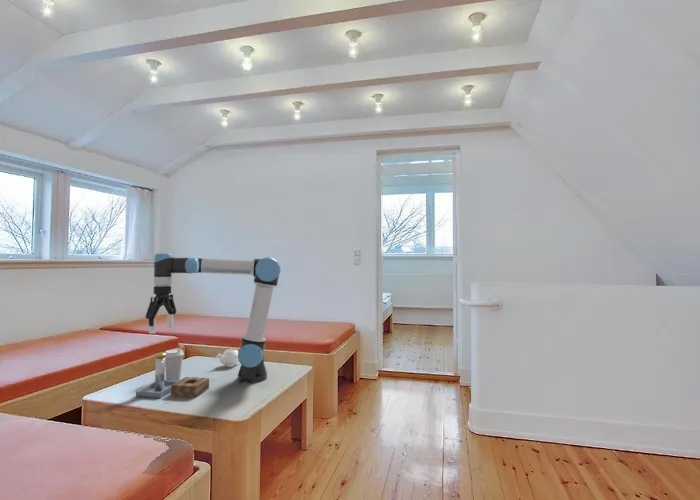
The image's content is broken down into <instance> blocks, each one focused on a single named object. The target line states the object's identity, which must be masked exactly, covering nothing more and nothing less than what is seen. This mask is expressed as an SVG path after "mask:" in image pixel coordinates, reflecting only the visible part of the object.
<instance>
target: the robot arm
mask: <svg viewBox="0 0 700 500" xmlns="http://www.w3.org/2000/svg"><path fill="white" fill-rule="evenodd" d="M197 273H201V274H202V273H203V274H225V275H251V276H252V277H253V283H254V285H255V289H254V294H253V299H252V303H251V309H250V314H249V318H248V322H247V323H248V324H247V327H246V333H245V334H243V335H242V337H241V341H240V347H239V350H238V360H239V361H238V362H239V363H240V367H239V370H238V372H237V381H239V382H242V383H258V382H262V381H265V380H266V379H267V378H268V372H267V369H266V365H265V347H266V342H267V339H266V338H265V331H266V327H267V320H268V316H269V311H270V306H271V301H272V297H273V291H274V289H275V288H276V287H277V286H278V283H279V282H278V281H279V277H280V273H281V265H280V263H279V261H278V260H277V259H276V258H274V257H269V256H267V257H266V256H265V257H263V258H254V259H252V260H247V259H243V260H242V259H227V258H226V259H224V258H223V259H222V258H205V257H204V258H202V257H200V258H199V257H174V256H173V254H172V253H163V252H162V253H161V252H160V253H159V252H158V253H156V254H155V255H154V261H153V294H154V295H155V296H151V297H150V300H149V305H148V308H147V310H146V314H145V319H147V320H148V334H156V328H157V324H156V323H157V322H156V321H157V319H156V316H157V314H158V312H159V310H160V308H161V307H164V308H165V310H166V312H167V314H166V328H167V329H172V328H174V315H177V314H176V313H177V308H176V304H175V301H174V294H172V286H171V285H172V274H197Z"/></svg>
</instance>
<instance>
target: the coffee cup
mask: <svg viewBox="0 0 700 500" xmlns="http://www.w3.org/2000/svg"><path fill="white" fill-rule="evenodd" d="M164 353H167V356H165V380H168V381H180V380H181V374H182V366H183V358H184V357H183V356H184V355H185V352H184V351H183V349H180V348H176V349H175V348H174V349H168V350H165V352H164Z"/></svg>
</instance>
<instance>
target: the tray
mask: <svg viewBox="0 0 700 500" xmlns="http://www.w3.org/2000/svg"><path fill="white" fill-rule="evenodd" d="M176 382H178V381H168V380H166V379H165V384H164V390H163V391H159V392H156V391H155V381H153V382H152V383H150V384H148V385H146V386H143V387H142V388H140V389H138V390H136V391H135V398H147V399H162V398H164V397H165V396H167V395H169V394H171V385H173V384H174V383H176Z"/></svg>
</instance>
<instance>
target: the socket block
mask: <svg viewBox="0 0 700 500" xmlns="http://www.w3.org/2000/svg"><path fill="white" fill-rule="evenodd" d="M209 389H210V377H196V376H195V377H194V376H192V377H191V376H185V377H183V378H180V380H179V381H178V382H176V383H174V384H173V385H171V393H170V396H171V397H177V398H178V397H179V398H196V399H197V398H198V397H199V396H200V395H202V394H204V393H205V392H207V390H209Z"/></svg>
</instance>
